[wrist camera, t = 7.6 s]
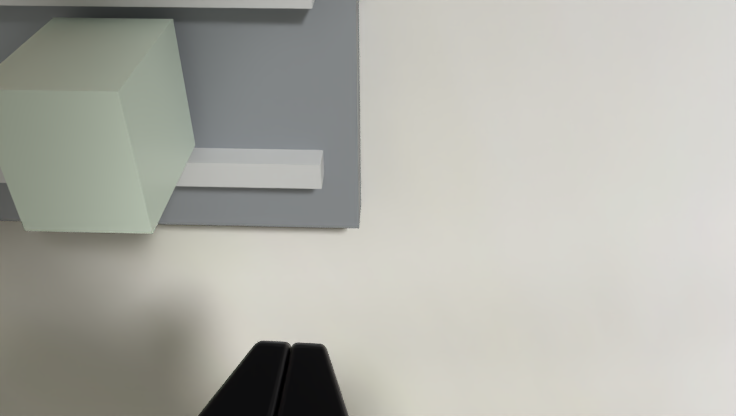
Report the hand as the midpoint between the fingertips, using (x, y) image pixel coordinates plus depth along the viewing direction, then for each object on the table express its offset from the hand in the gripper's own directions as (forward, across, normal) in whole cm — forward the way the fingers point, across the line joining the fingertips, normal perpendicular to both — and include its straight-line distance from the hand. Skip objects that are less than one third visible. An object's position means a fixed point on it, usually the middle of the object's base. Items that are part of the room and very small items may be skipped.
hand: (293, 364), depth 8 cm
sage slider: (+10, +6, +2) cm, 12 cm away
